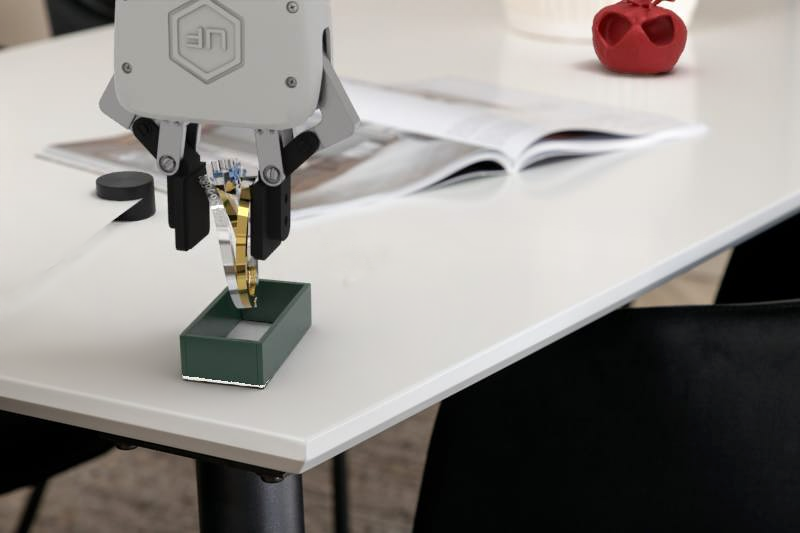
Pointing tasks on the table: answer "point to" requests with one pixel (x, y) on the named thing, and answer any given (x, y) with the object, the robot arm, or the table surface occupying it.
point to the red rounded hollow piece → (638, 37)
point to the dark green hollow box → (246, 358)
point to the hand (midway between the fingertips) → (229, 243)
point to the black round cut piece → (129, 192)
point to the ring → (233, 226)
